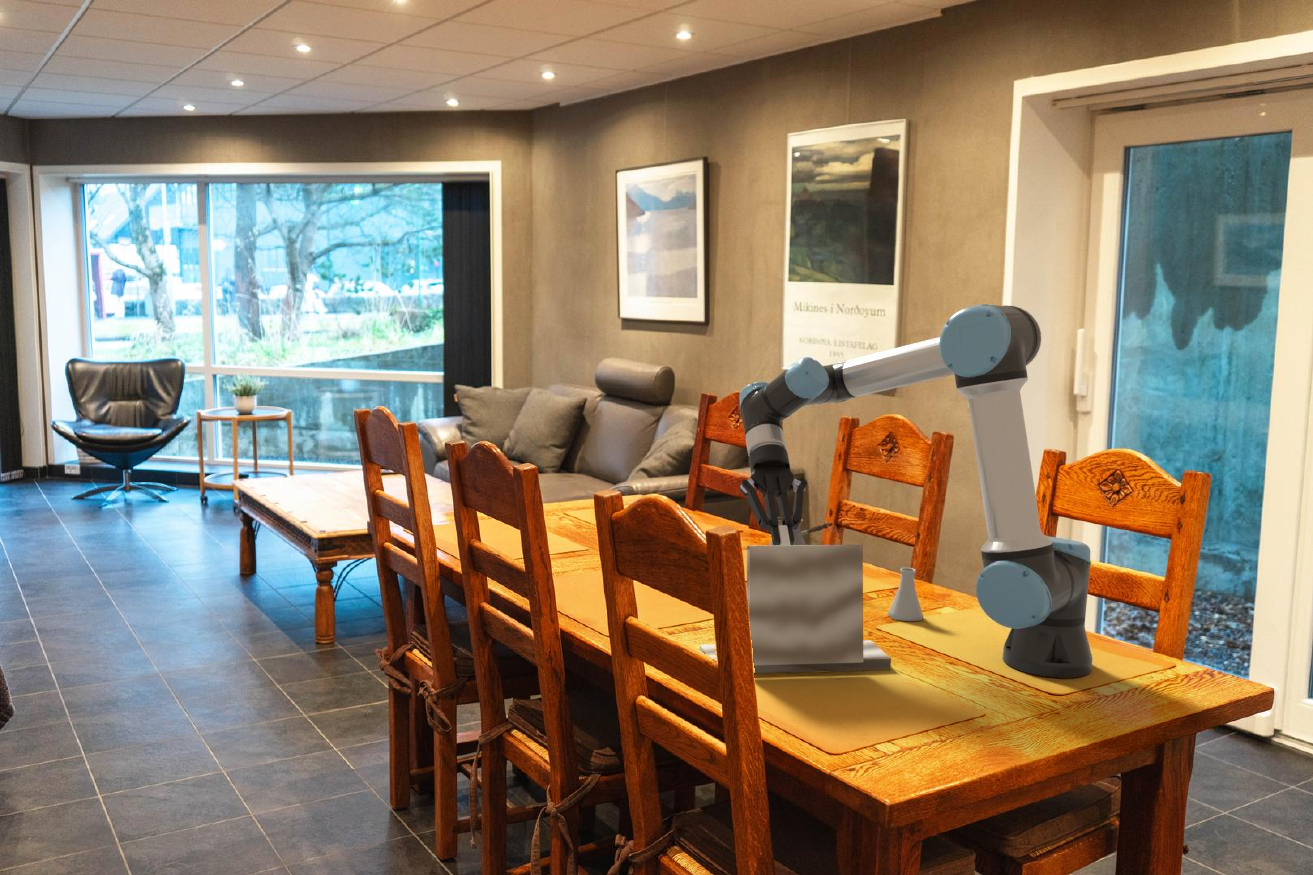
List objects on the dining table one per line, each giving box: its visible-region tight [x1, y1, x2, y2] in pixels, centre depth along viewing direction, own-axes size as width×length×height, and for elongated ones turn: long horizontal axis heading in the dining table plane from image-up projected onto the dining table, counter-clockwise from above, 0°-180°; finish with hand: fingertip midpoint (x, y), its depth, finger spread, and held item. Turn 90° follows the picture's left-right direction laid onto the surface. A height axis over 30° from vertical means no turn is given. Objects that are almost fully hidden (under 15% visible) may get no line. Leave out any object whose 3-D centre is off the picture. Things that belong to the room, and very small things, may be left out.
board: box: [699, 639, 892, 675], centre depth 195 cm, size 10×32×2 cm, turn 99°
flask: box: [886, 567, 924, 622], centre depth 224 cm, size 7×7×10 cm
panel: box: [746, 544, 864, 665], centre depth 189 cm, size 20×20×2 cm
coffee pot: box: [769, 516, 837, 545], centre depth 252 cm, size 21×12×15 cm, turn 30°
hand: (786, 559), depth 199 cm, fingers closed
